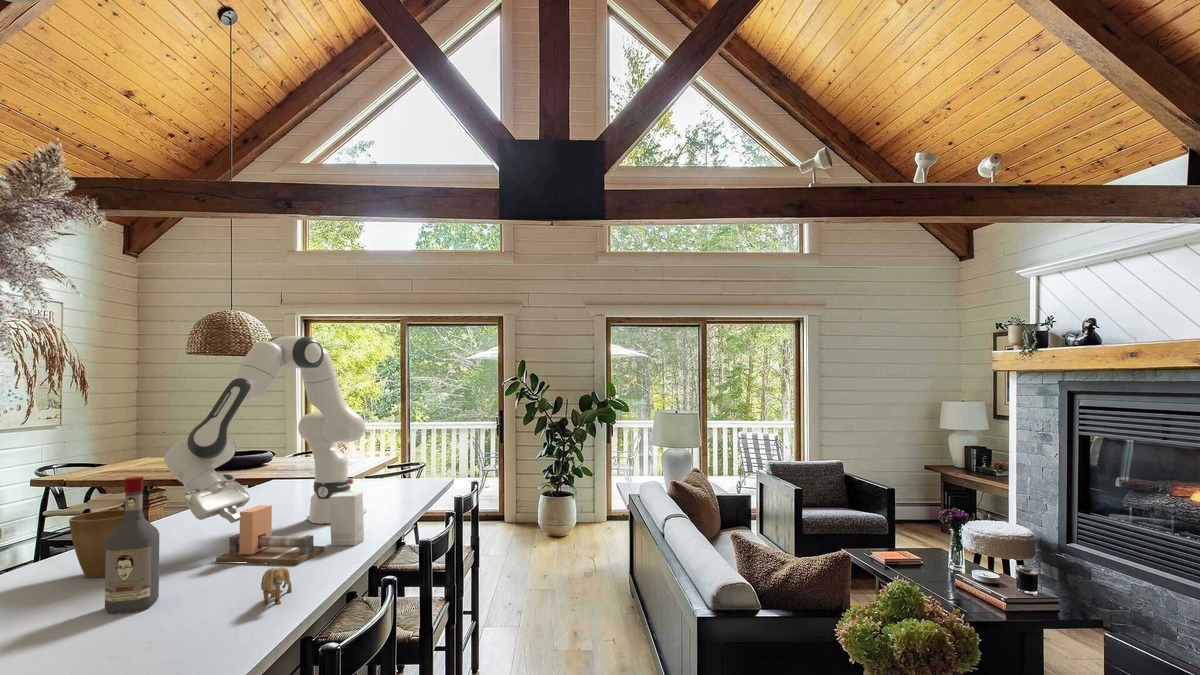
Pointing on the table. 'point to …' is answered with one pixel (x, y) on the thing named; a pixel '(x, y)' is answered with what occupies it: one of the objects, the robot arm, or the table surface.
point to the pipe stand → (274, 550)
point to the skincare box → (346, 519)
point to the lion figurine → (275, 583)
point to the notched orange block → (254, 528)
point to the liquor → (132, 557)
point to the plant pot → (93, 539)
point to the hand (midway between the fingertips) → (236, 520)
